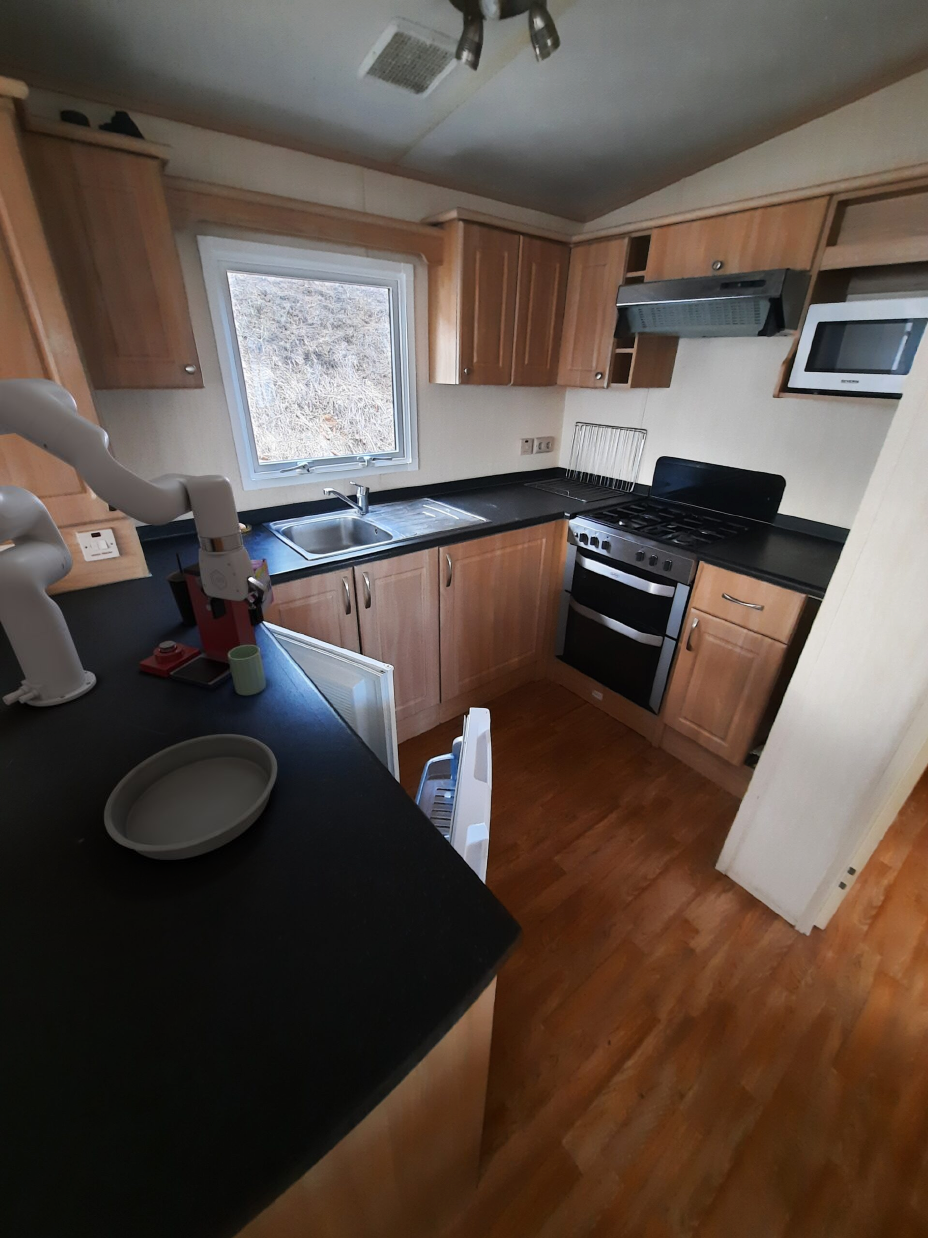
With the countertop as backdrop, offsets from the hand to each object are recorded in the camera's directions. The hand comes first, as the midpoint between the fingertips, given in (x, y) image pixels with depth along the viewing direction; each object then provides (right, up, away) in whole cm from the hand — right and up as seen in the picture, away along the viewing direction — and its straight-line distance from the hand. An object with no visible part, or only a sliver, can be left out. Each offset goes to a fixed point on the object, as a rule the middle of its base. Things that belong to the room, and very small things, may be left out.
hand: (238, 620), depth 106 cm
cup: (0, -15, +7) cm, 16 cm away
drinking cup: (-28, -1, +35) cm, 45 cm away
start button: (-22, -7, +13) cm, 27 cm away
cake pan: (+4, -30, -24) cm, 38 cm away
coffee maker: (-11, -11, +13) cm, 21 cm away
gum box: (-14, +1, +38) cm, 40 cm away
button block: (-22, -10, +15) cm, 29 cm away
